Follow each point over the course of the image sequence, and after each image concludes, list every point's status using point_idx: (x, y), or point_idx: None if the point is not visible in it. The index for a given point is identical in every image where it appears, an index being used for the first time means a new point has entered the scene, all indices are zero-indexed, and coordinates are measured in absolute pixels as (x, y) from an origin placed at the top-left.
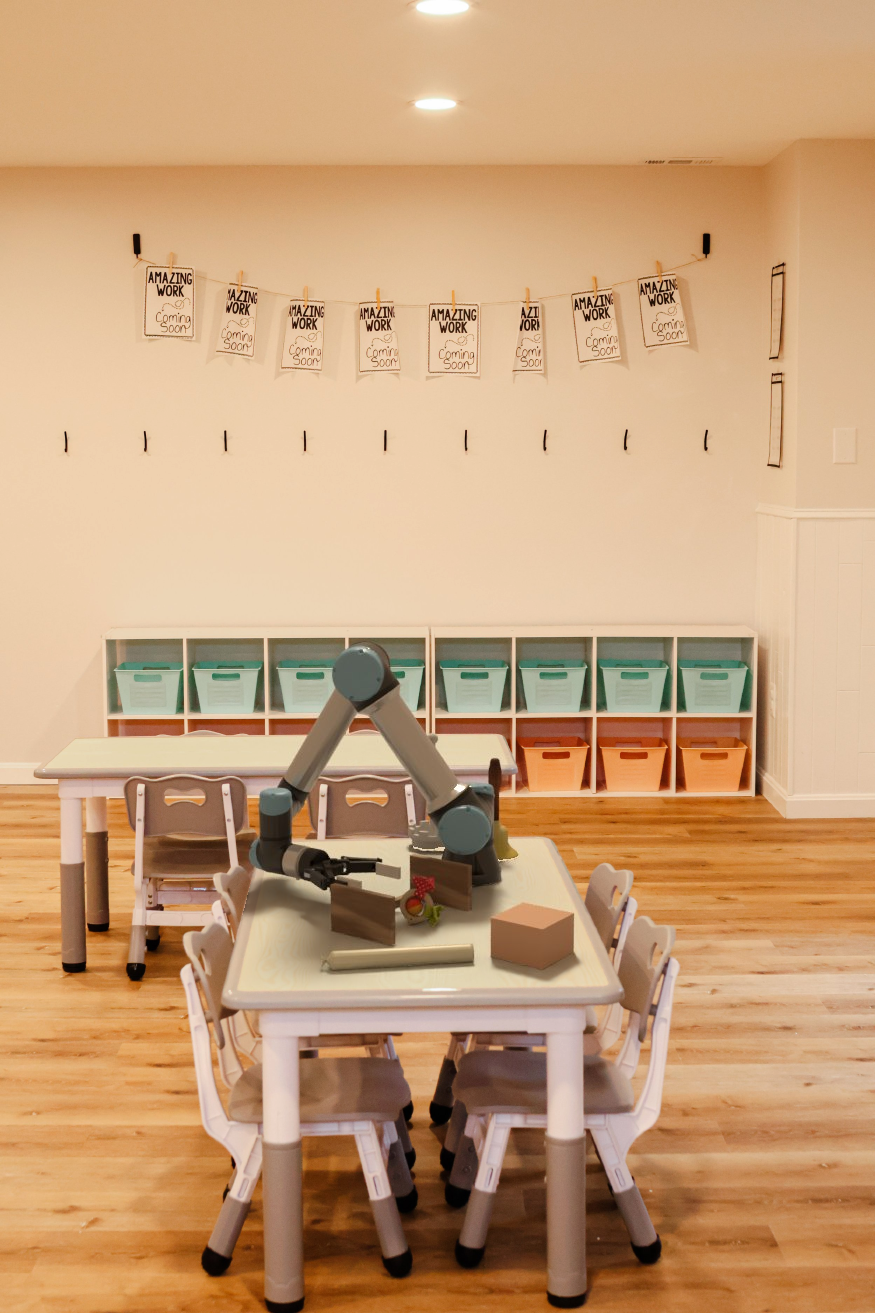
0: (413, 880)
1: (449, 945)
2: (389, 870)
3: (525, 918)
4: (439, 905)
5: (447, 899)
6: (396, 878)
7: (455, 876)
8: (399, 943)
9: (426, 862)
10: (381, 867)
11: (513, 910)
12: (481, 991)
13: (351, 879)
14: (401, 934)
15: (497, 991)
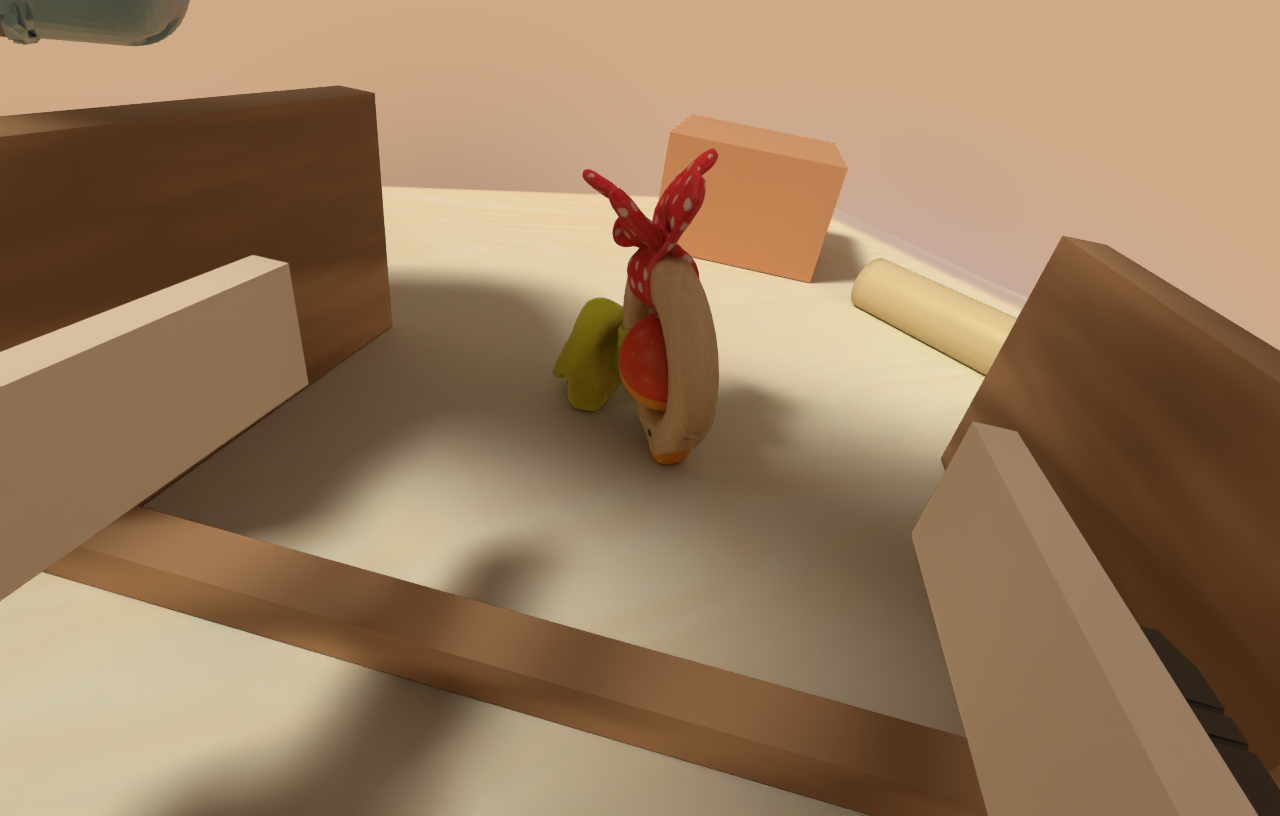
0: (699, 207)
1: (940, 284)
2: (191, 373)
3: (792, 144)
4: (606, 299)
5: (312, 342)
6: (285, 392)
7: (327, 181)
8: (919, 449)
9: (106, 164)
10: (39, 433)
11: (751, 145)
12: (997, 291)
13: (1051, 526)
14: (821, 464)
15: (968, 277)
